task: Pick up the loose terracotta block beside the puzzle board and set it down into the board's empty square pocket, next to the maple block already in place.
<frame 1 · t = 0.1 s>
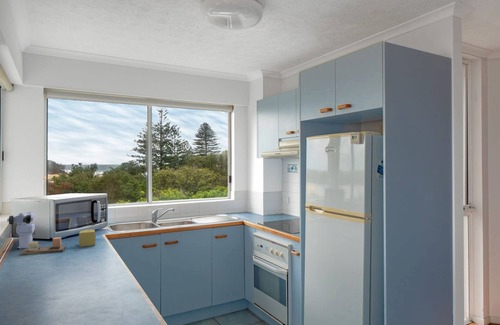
hand: (16, 220, 222), 22 cm above the countertop, tool horizontal, fingers open, 7 cm apart
maple block: (33, 252, 227), resting in puzzle board
puzzle board: (44, 251, 229), on the countertop
terracotta block: (57, 247, 240), on the countertop
cheese: (87, 244, 248), on the countertop
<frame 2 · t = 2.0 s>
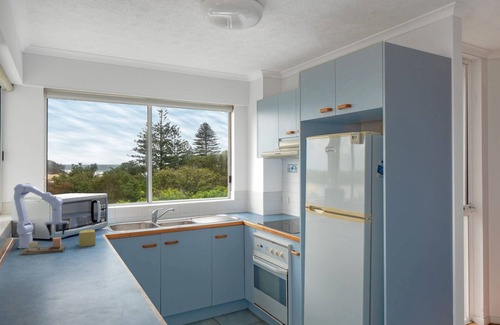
hand: (57, 234, 240), 9 cm above the countertop, tool pointing down, fingers open, 7 cm apart
nothing on the countertop moved.
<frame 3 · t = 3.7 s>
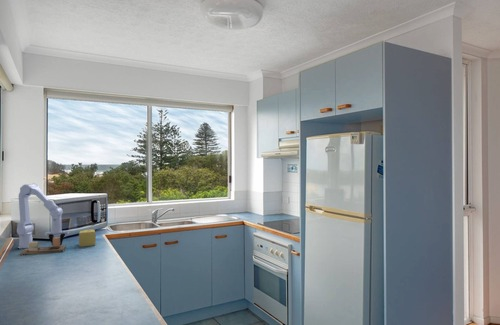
hand: (57, 245, 240), 2 cm above the countertop, tool pointing down, fingers closed on terracotta block, 4 cm apart
terracotta block: (57, 247, 240), on the countertop, touching gripper
everything else where it was.
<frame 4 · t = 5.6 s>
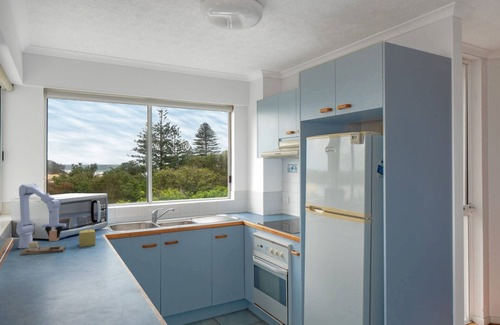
hand: (54, 237, 231), 9 cm above the countertop, tool pointing down, fingers closed on terracotta block, 4 cm apart
terracotta block: (54, 240, 231), point 7 cm above the countertop, touching gripper
everything else where it was.
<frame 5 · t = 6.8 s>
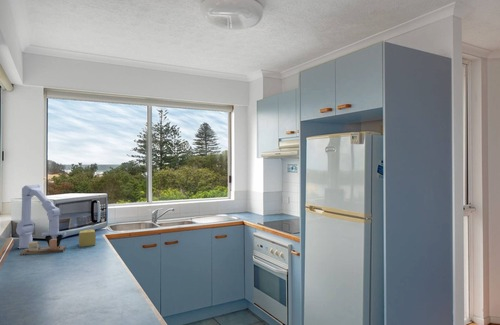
hand: (54, 246, 231), 3 cm above the countertop, tool pointing down, fingers closed on terracotta block, 4 cm apart
terracotta block: (54, 249, 231), point 1 cm above the countertop, touching gripper
everything else where it was.
when the fingers open (3 cm above the countertop, at t = 7.5 s): terracotta block stays where it is, resting in puzzle board.
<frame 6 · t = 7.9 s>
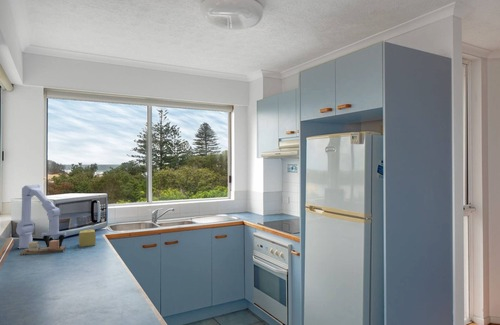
hand: (54, 246, 231), 3 cm above the countertop, tool pointing down, fingers open, 7 cm apart
terracotta block: (54, 250, 231), resting in puzzle board
everything else where it was.
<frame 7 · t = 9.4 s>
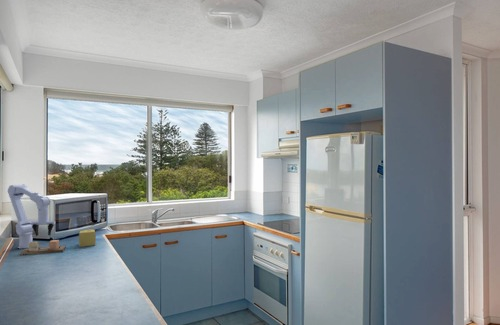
hand: (43, 235, 235), 9 cm above the countertop, tool pointing down, fingers open, 7 cm apart
nothing on the countertop moved.
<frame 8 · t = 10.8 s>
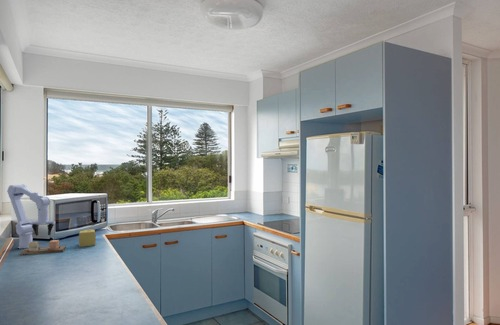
hand: (43, 235, 235), 9 cm above the countertop, tool pointing down, fingers open, 7 cm apart
nothing on the countertop moved.
at the end: terracotta block 0.2 cm from the target spot on the puzzle board, point 0.0 cm above the puzzle board's base; terracotta block tilted 0°; the gripper is holding nothing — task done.
